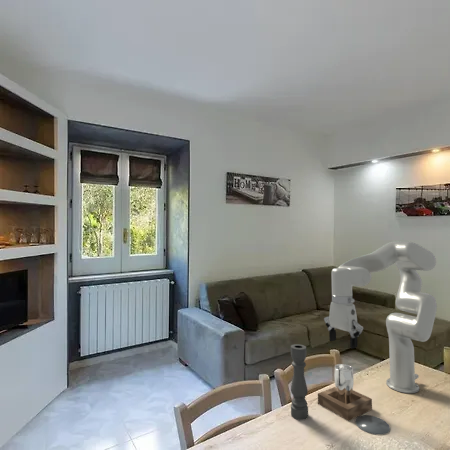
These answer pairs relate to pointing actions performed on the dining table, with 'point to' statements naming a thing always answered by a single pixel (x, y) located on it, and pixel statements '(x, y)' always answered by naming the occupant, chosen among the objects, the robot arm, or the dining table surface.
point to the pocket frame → (345, 411)
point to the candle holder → (299, 383)
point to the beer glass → (344, 382)
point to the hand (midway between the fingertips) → (343, 344)
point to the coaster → (372, 424)
